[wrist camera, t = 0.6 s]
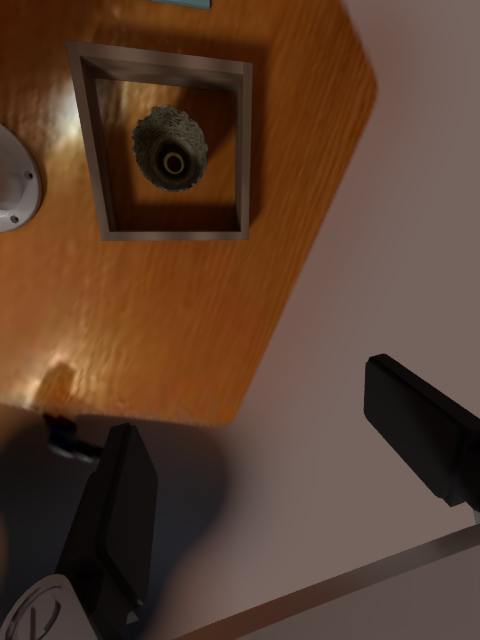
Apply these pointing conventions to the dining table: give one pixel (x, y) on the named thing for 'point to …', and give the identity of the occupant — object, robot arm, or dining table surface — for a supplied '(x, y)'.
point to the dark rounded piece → (170, 148)
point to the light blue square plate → (189, 3)
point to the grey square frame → (163, 71)
